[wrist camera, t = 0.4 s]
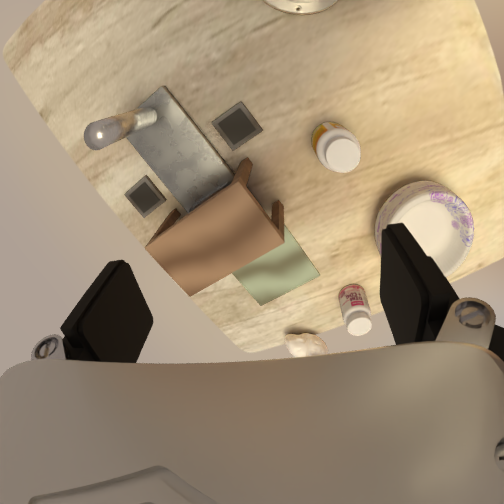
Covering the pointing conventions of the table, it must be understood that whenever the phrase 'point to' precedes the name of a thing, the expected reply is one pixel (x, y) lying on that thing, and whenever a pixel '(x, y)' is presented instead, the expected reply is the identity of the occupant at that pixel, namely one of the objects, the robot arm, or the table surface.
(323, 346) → the white lumpy bag
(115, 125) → the metal rod stand
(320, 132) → the supplement bottle
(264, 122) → the table surface
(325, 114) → the table surface
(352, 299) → the pill bottle
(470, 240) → the paper bowls
